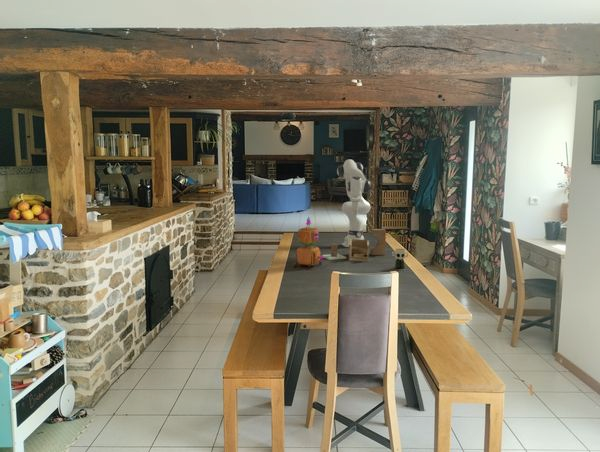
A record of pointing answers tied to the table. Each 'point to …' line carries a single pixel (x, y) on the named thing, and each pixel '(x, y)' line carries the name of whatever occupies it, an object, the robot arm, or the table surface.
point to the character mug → (400, 257)
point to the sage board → (334, 257)
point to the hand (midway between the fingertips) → (355, 215)
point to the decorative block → (379, 242)
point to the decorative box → (308, 246)
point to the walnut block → (334, 250)
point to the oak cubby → (358, 250)
